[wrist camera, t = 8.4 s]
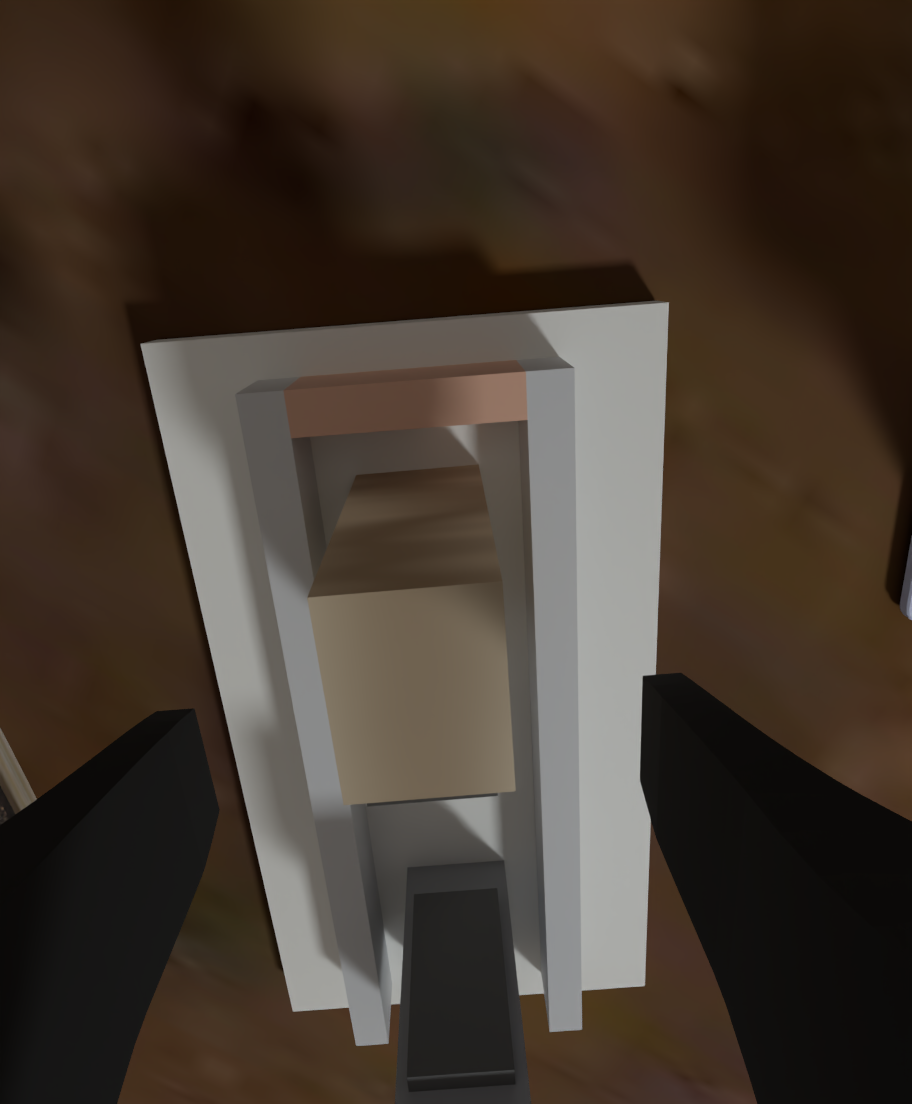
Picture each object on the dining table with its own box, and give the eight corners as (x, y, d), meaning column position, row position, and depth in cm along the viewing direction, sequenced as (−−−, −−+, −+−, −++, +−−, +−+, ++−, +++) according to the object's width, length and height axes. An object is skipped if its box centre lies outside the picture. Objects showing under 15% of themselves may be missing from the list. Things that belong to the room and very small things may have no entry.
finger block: (478, 464, 17) (502, 581, 11) (490, 627, 19) (517, 814, 13) (356, 475, 17) (307, 597, 11) (378, 637, 19) (347, 828, 13)
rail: (656, 300, 17) (824, 325, 10) (637, 959, 25) (720, 1248, 18) (156, 339, 17) (-61, 394, 10) (298, 984, 25) (239, 1282, 18)
